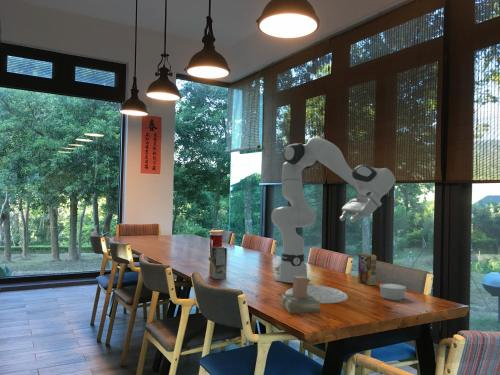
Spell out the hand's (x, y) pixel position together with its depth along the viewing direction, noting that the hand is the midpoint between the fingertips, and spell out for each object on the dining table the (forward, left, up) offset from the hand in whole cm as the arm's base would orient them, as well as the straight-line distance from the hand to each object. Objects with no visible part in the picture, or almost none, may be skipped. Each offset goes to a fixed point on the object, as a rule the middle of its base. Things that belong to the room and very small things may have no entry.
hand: (345, 220), depth 171 cm
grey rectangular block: (+7, -23, -30) cm, 38 cm away
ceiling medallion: (-12, -8, -35) cm, 38 cm away
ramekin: (-3, +25, -35) cm, 43 cm away
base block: (+7, -23, -35) cm, 42 cm away
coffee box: (-54, -47, -35) cm, 80 cm away
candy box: (-31, +28, -35) cm, 55 cm away
